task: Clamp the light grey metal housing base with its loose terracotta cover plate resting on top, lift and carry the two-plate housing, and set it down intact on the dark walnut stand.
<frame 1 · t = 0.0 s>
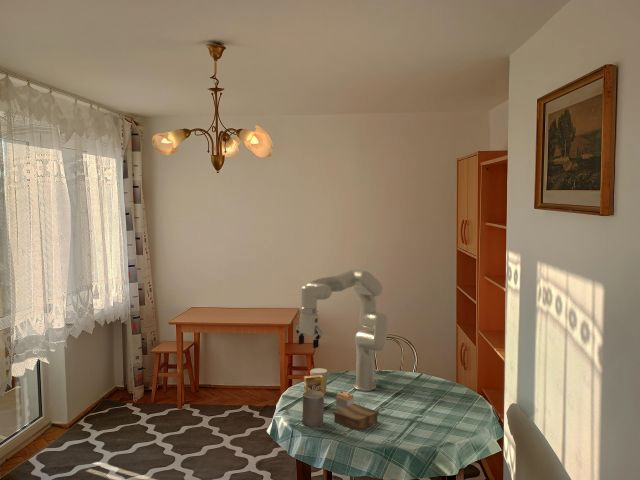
hand: (308, 345, 282), 31 cm above the table, tool pointing down, fingers open, 9 cm apart
walnut stand: (355, 422, 268), on the table
pillar candle: (313, 424, 266), on the table
housing base: (344, 407, 287), on the table
coffee cup: (318, 393, 308), on the table
candy box: (313, 406, 287), on the table
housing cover: (344, 397, 286), point 5 cm above the table
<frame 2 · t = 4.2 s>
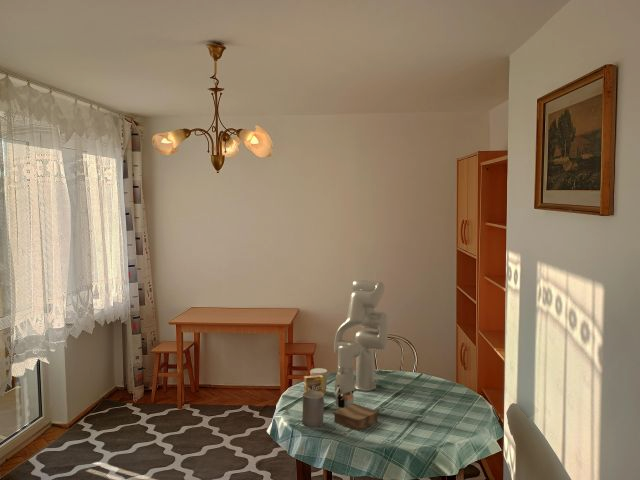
hand: (344, 405, 287), 1 cm above the table, tool pointing down, fingers closed on housing base, 5 cm apart
housing base: (344, 407, 287), on the table, touching gripper, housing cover
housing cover: (345, 397, 286), point 5 cm above the table, touching housing base
everything else where it was.
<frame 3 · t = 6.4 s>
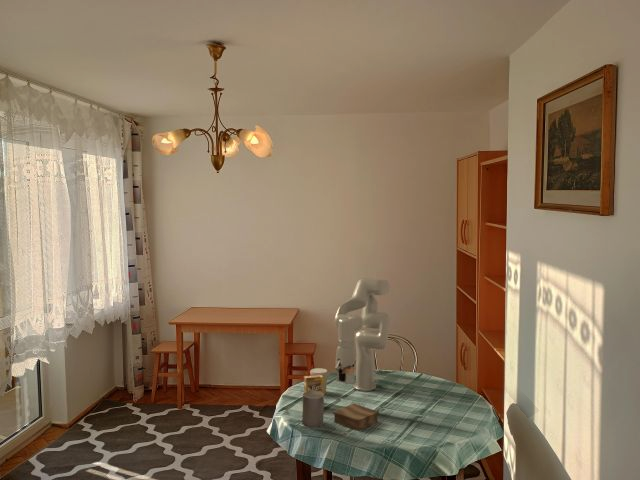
hand: (345, 379, 286), 14 cm above the table, tool pointing down, fingers closed on housing base, 5 cm apart
housing base: (345, 381, 286), point 13 cm above the table, touching gripper, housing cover
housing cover: (345, 371, 286), point 18 cm above the table, touching housing base
everything else where it was.
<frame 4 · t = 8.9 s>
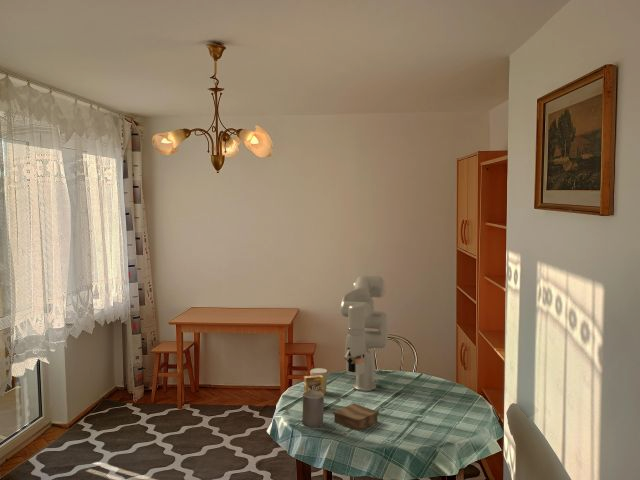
hand: (355, 370, 268), 24 cm above the table, tool pointing down, fingers closed on housing base, 5 cm apart
housing base: (355, 372, 269), point 23 cm above the table, touching gripper, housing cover
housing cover: (355, 361, 268), point 28 cm above the table, touching housing base
everything else where it was.
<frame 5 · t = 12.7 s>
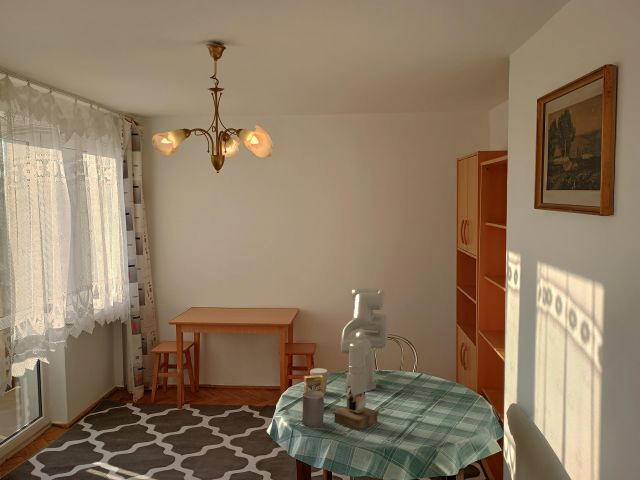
hand: (356, 407, 268), 7 cm above the table, tool pointing down, fingers closed on housing base, 5 cm apart
housing base: (356, 409, 268), point 6 cm above the table, touching gripper, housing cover
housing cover: (356, 399, 267), point 11 cm above the table, touching housing base
everything else where it was.
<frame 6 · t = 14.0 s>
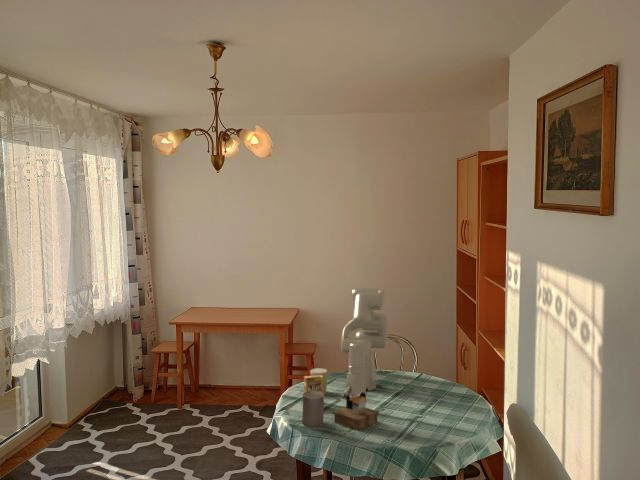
hand: (356, 405, 267), 8 cm above the table, tool pointing down, fingers open, 9 cm apart
housing base: (356, 411, 268), point 5 cm above the table, touching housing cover, walnut stand
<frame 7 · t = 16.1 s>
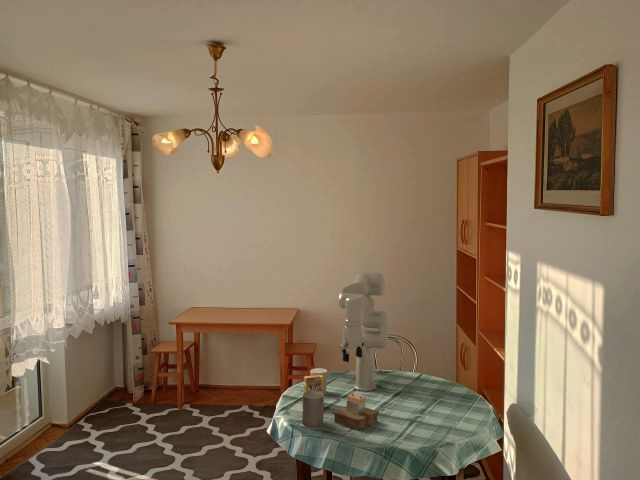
hand: (352, 359, 272), 28 cm above the table, tool pointing down, fingers open, 9 cm apart
nothing on the table moved.
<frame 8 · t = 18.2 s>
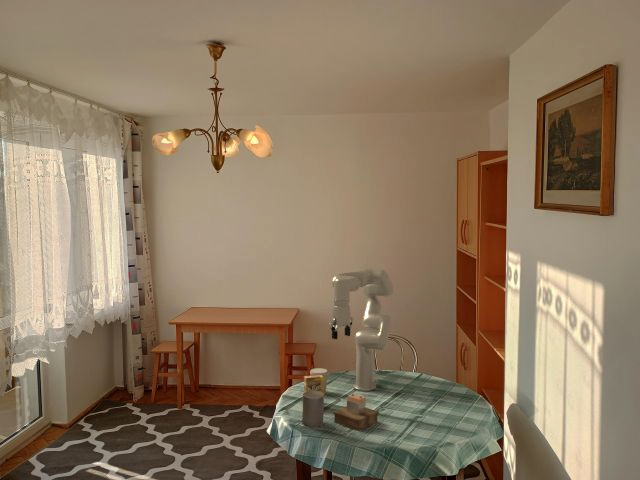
hand: (341, 337, 288), 34 cm above the table, tool pointing down, fingers open, 9 cm apart
nothing on the table moved.
at the end: housing base inside the target area on the walnut stand (0.1 cm from its centre), point 5.0 cm above the walnut stand's base; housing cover 0.1 cm off-centre on the housing base, point 5.0 cm above the housing base's base; housing base tilted 0° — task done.
